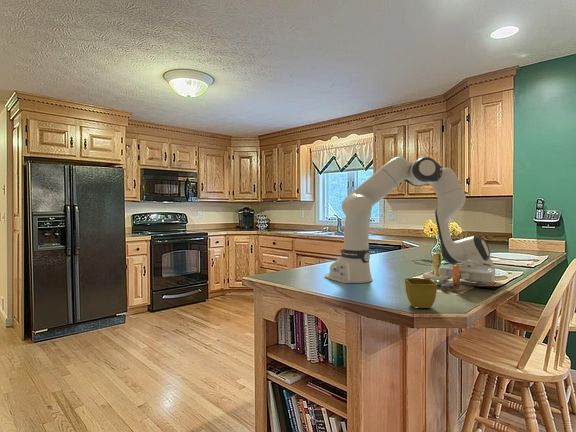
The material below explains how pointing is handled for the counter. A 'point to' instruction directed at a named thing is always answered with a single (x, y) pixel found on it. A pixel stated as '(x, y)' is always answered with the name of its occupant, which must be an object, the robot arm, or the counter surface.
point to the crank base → (452, 291)
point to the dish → (434, 276)
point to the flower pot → (420, 292)
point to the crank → (455, 279)
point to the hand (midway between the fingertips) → (458, 276)
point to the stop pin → (436, 263)
